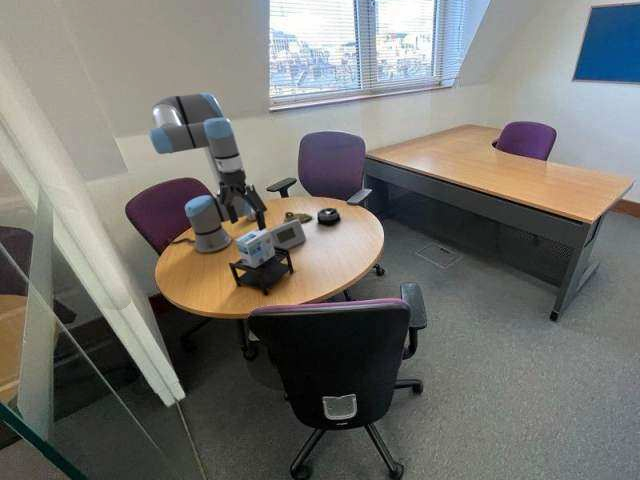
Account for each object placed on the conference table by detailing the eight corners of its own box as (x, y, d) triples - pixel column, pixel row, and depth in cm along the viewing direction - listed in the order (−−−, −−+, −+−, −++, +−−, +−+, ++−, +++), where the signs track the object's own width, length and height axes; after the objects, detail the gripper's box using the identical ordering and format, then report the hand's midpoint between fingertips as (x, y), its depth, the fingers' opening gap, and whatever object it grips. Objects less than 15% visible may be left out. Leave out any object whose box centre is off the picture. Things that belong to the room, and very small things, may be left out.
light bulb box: (254, 269, 114) (246, 244, 108) (242, 264, 117) (234, 239, 111) (276, 254, 121) (270, 230, 116) (264, 250, 124) (257, 226, 119)
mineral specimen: (253, 212, 177) (250, 202, 174) (265, 212, 177) (262, 202, 173) (242, 222, 167) (239, 212, 163) (255, 222, 166) (252, 212, 163)
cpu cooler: (341, 209, 162) (329, 217, 155) (342, 219, 165) (331, 227, 158) (326, 206, 167) (313, 213, 159) (327, 215, 170) (315, 223, 162)
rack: (237, 286, 121) (228, 263, 115) (266, 263, 133) (259, 242, 127) (266, 296, 115) (258, 272, 109) (294, 271, 127) (288, 249, 121)
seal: (314, 216, 171) (287, 217, 172) (313, 208, 169) (286, 209, 170) (310, 223, 163) (282, 223, 163) (309, 214, 161) (280, 215, 161)
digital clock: (275, 255, 138) (269, 234, 132) (269, 246, 145) (264, 226, 139) (309, 243, 145) (305, 223, 140) (302, 235, 152) (298, 216, 146)
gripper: (195, 168, 103) (216, 224, 114) (251, 177, 93) (267, 237, 105) (214, 161, 108) (232, 215, 120) (268, 169, 99) (282, 227, 110)
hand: (248, 225), depth 112 cm, fingers open, 13 cm apart
